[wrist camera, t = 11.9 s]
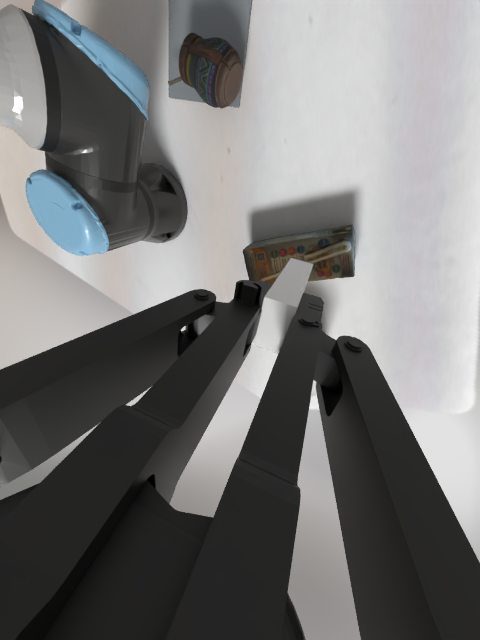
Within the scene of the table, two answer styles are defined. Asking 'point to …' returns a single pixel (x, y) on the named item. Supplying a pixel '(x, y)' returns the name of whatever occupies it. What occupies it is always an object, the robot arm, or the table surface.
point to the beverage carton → (304, 254)
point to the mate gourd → (210, 69)
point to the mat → (206, 34)
